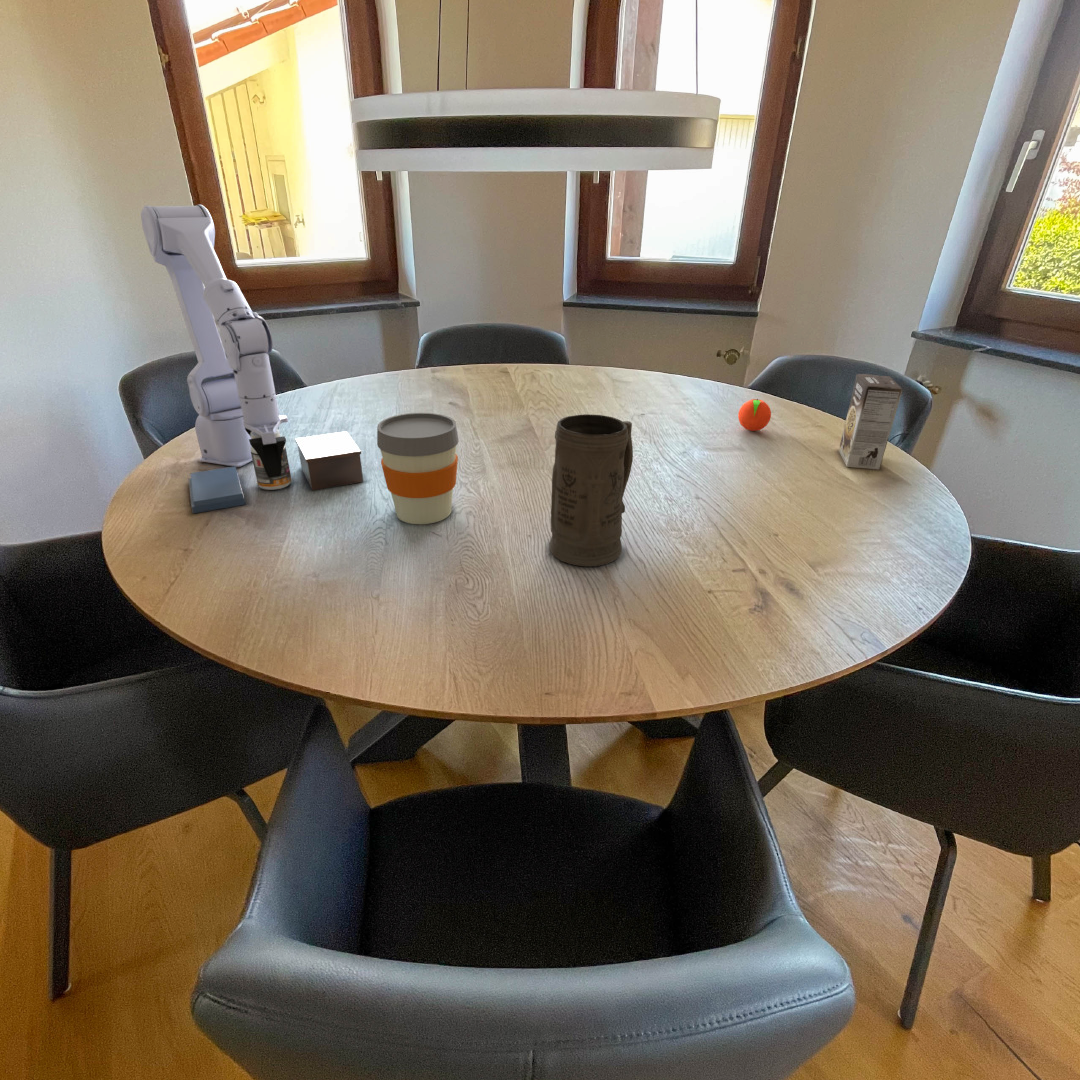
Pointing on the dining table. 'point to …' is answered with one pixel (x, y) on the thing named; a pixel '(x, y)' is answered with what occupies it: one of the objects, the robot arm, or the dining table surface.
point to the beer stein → (589, 488)
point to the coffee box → (869, 420)
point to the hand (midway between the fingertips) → (272, 469)
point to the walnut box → (330, 460)
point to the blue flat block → (215, 489)
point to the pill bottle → (260, 472)
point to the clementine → (754, 415)
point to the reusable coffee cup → (419, 464)
